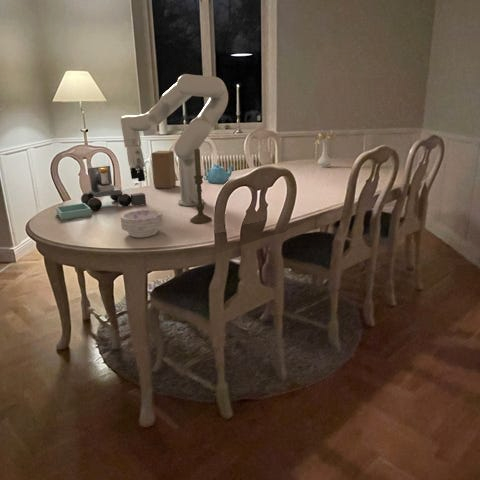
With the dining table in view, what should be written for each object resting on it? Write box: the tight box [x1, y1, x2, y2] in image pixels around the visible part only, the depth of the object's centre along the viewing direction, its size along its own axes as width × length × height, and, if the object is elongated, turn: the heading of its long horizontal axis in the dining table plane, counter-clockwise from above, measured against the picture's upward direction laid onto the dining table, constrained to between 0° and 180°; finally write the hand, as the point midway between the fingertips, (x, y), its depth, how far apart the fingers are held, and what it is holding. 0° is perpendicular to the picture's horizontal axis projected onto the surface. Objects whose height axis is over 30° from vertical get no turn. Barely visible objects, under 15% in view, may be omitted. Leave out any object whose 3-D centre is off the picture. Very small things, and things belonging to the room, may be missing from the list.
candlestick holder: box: [189, 147, 213, 225], centre depth 173 cm, size 9×9×30 cm
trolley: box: [80, 165, 132, 212], centre depth 203 cm, size 15×20×18 cm
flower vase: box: [311, 129, 338, 169], centre depth 291 cm, size 13×18×25 cm
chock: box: [129, 192, 147, 207], centre depth 207 cm, size 4×6×5 cm, turn 121°
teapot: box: [203, 162, 235, 184], centre depth 254 cm, size 15×15×10 cm
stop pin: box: [99, 168, 109, 186], centre depth 201 cm, size 4×4×10 cm
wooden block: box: [150, 150, 177, 189], centre depth 242 cm, size 10×10×20 cm
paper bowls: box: [120, 209, 164, 239], centre depth 161 cm, size 15×15×8 cm
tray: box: [55, 203, 93, 221], centre depth 190 cm, size 12×12×4 cm
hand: (138, 179), depth 204 cm, fingers open, 9 cm apart
